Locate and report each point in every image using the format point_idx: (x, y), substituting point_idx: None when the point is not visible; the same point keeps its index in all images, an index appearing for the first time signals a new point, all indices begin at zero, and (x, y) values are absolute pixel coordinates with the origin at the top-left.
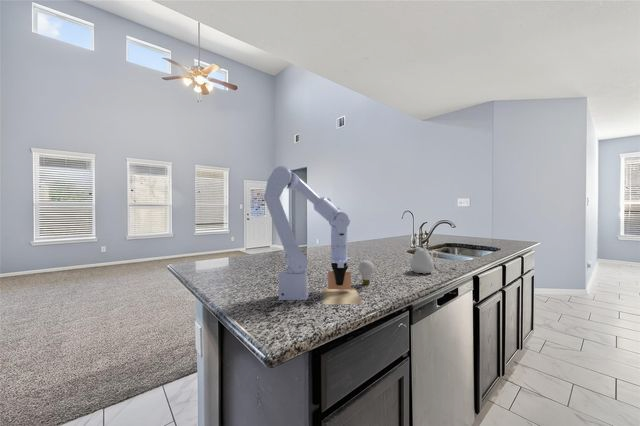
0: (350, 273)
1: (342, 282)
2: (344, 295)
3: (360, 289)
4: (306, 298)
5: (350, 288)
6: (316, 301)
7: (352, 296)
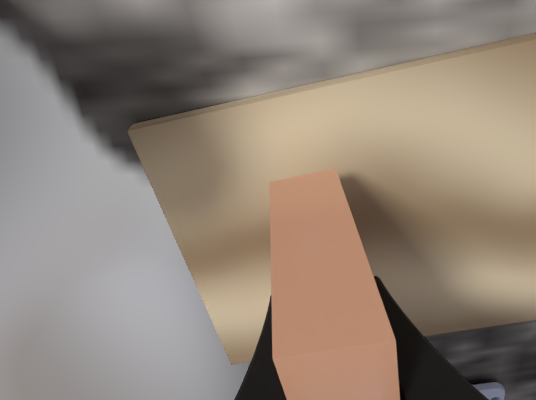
0: (387, 320)
1: (393, 301)
2: (438, 199)
3: (121, 54)
4: (488, 394)
5: (338, 177)
6: (511, 340)
7: (480, 122)
